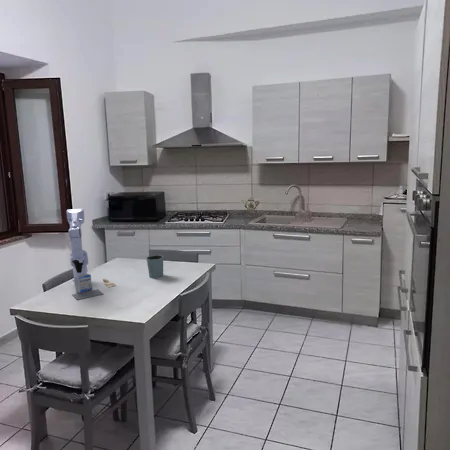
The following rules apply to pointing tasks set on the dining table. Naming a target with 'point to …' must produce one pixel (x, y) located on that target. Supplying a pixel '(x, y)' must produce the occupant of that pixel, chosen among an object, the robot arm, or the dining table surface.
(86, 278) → the medicine box
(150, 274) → the teal utensil pot
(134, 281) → the dining table surface
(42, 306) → the dining table surface
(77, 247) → the robot arm
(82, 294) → the slate mat
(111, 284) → the beech turner
